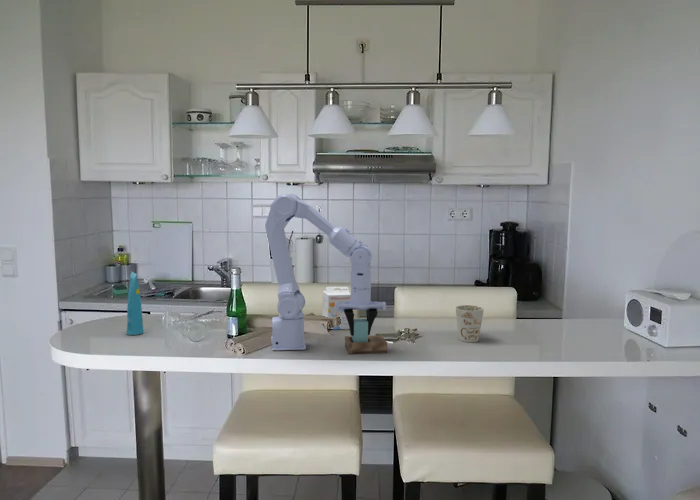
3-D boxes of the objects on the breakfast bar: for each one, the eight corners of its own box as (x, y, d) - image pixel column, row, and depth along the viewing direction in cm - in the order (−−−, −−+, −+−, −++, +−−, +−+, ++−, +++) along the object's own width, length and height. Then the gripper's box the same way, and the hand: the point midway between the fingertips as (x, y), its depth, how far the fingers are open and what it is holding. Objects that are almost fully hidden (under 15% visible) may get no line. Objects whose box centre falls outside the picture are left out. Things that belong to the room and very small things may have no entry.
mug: (451, 341, 161) (452, 309, 160) (462, 331, 172) (463, 301, 171) (478, 344, 157) (479, 312, 156) (488, 335, 168) (489, 304, 167)
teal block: (353, 342, 148) (354, 322, 148) (351, 339, 152) (352, 318, 152) (367, 342, 149) (368, 321, 148) (365, 338, 153) (365, 318, 152)
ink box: (327, 330, 172) (327, 290, 170) (321, 324, 180) (322, 285, 178) (352, 329, 174) (353, 289, 172) (346, 322, 182) (346, 284, 181)
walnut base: (348, 354, 146) (348, 343, 146) (344, 346, 154) (344, 336, 154) (387, 352, 148) (387, 342, 148) (381, 345, 155) (381, 335, 155)
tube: (146, 334, 163) (145, 273, 161) (130, 337, 160) (128, 274, 158) (139, 329, 169) (137, 270, 167) (123, 332, 166) (121, 271, 164)
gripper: (337, 290, 144) (336, 339, 145) (388, 290, 146) (387, 337, 147) (334, 286, 151) (333, 332, 152) (383, 285, 153) (382, 331, 154)
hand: (359, 334), depth 150 cm, fingers closed on teal block, 4 cm apart
